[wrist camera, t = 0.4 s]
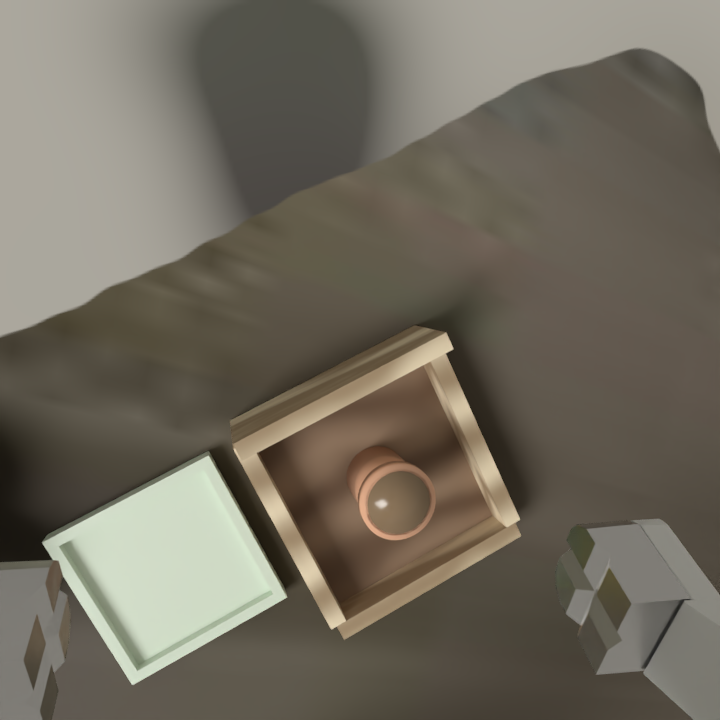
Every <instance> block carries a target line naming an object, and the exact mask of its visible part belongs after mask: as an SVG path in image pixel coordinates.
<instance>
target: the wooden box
mask: <svg viewBox="0 0 720 720" xmlns="http://www.w3.org/2000/svg"><path fill="white" fill-rule="evenodd" d="M451 350H453V346H452V344H451V342H450V340H449V337H448V335H447V333H446V332H442V331H438V330H433V329H429V328H424V327H420V326H415V325H414V326H412V327H410V328H408V329H406V330H404V331H402V332H400V333H398V334H397V335H395V336H393V337H391V338H389V339H387V340H385V341H383V342H381V343H379V344H377V345H375V346H373V347H371V348H369V349H368V350H366V351H364V352H362V353H360V354H358V355H356V356H354V357H352V358H350V359H348V360H346V361H344V362H342V363H340V364H339V365H337V366H335V367H333V368H331V369H329V370H327V371H325V372H323V373H321V374H319V375H317V376H315V377H313V378H311V379H310V380H308V381H306V382H304V383H302V384H300V385H298V386H296V387H294V388H292V389H290V390H288V391H286V392H284V393H282V394H280V395H279V396H277V397H275V398H273V399H271V400H269V401H267V402H265V403H263V404H261V405H259V406H257V407H255V408H253V409H251V410H250V411H248V412H246V413H244V414H242V415H240V416H238V417H236V418H234V419H232V420H230V426H231V434H232V443H233V450H234V451H235V453H236V455H237V457H238V459H239V461H240V462H241V464H242V466H243V468H244V470H245V472H246V473H247V475H248V477H249V479H250V481H251V483H252V484H253V486H254V488H255V490H256V492H257V494H258V496H259V497H260V499H261V501H262V503H263V505H264V507H265V508H266V510H267V512H268V514H269V516H270V518H271V519H272V521H273V523H274V525H275V527H276V529H277V531H278V532H279V534H280V536H281V538H282V540H283V542H284V543H285V545H286V547H287V549H288V551H289V553H290V554H291V556H292V558H293V560H294V562H295V564H296V566H297V567H298V569H299V571H300V573H301V575H302V577H303V578H304V580H305V582H306V584H307V586H308V588H309V589H310V591H311V593H312V595H313V597H314V599H315V601H316V602H317V604H318V606H319V608H320V610H321V612H322V613H323V615H324V617H325V619H326V621H327V623H328V624H329V626H330V628H331V630H332V629H333V628H335V627H338V629H339V631H340V633H341V635H342V637H343V639H344V640H345V639H346V638H348V637H350V636H351V635H353V634H355V633H357V632H358V631H360V630H362V629H363V628H365V627H367V626H369V625H370V624H372V623H374V622H375V621H377V620H379V619H380V618H382V617H384V616H386V615H387V614H389V613H391V612H392V611H394V610H396V609H398V608H399V607H401V606H403V605H404V604H406V603H408V602H409V601H411V600H413V599H415V598H416V597H418V596H420V595H421V594H423V593H425V592H426V591H428V590H430V589H432V588H433V587H435V586H437V585H438V584H440V583H442V582H444V581H445V580H447V579H449V578H450V577H452V576H454V575H455V574H457V573H459V572H461V571H462V570H464V569H466V568H467V567H469V566H471V565H473V564H474V563H476V562H478V561H479V560H481V559H483V558H484V557H486V556H488V555H490V554H491V553H493V552H495V551H496V550H498V549H500V548H502V547H503V546H505V545H507V544H508V543H510V542H512V541H513V540H515V539H517V538H519V537H520V536H521V534H520V532H519V530H518V528H517V526H516V523H515V522H517V521H519V520H520V518H519V516H518V513H517V511H516V509H515V507H514V505H513V502H512V500H511V498H510V496H509V493H508V491H507V489H506V487H505V484H504V482H503V480H502V478H501V476H500V473H499V471H498V469H497V467H496V464H495V462H494V460H493V458H492V456H491V453H490V451H489V449H488V447H487V444H486V442H485V440H484V438H483V435H482V433H481V431H480V429H479V427H478V424H477V422H476V420H475V418H474V415H473V413H472V411H471V409H470V406H469V404H468V402H467V400H466V398H465V395H464V393H463V391H462V389H461V386H460V384H459V382H458V380H457V378H456V375H455V373H454V371H453V369H452V366H451V364H450V362H449V360H448V357H447V355H446V353H447V352H449V351H451ZM374 446H383V447H387V448H389V449H391V450H393V451H394V452H396V453H397V454H398V455H399V456H400V457H401V458H402V459H403V460H404V461H405V462H408V463H411V464H413V465H415V466H417V467H418V468H419V469H421V470H422V471H423V472H424V473H425V474H426V475H427V476H428V477H429V479H430V480H431V482H432V484H433V486H434V489H435V494H436V504H435V509H434V513H433V515H432V517H431V519H430V521H429V522H428V524H427V525H426V526H425V527H424V528H423V529H422V530H421V531H420V532H418V533H417V534H415V535H414V536H412V537H409V538H406V539H402V540H388V539H384V538H381V537H379V536H377V535H376V534H374V533H373V532H372V531H371V530H370V529H369V528H368V527H367V525H366V524H365V522H364V520H363V519H362V517H361V515H360V512H359V509H358V503H357V501H356V500H355V498H354V497H353V495H352V494H351V492H350V490H349V488H348V485H347V471H348V467H349V465H350V463H351V461H352V460H353V458H354V457H355V456H356V455H357V454H358V453H359V452H361V451H363V450H364V449H367V448H369V447H374Z"/></svg>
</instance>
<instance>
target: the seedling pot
mask: <svg viewBox="0 0 720 720" xmlns="http://www.w3.org/2000/svg"><path fill="white" fill-rule="evenodd" d="M347 485H348V488H349V490H350V492H351V494H352V495H353V497H354V498H355V500H356V501H357V503H358V509H359V512H360V515H361V517H362V519H363V520H364V522H365V524H366V525H367V527H368V528H369V529H370V530H371V531H372V532H373V533H374V534H376V535H377V536H379V537H381V538H384V539H388V540H402V539H406V538H409V537H412V536H414V535H415V534H417V533H418V532H420V531H421V530H422V529H423V528H424V527H425V526H426V525H427V524H428V522H429V521H430V519H431V517H432V515H433V513H434V509H435V504H436V494H435V489H434V486H433V484H432V482H431V480H430V479H429V477H428V476H427V475H426V474H425V473H424V472H423V471H422V470H421V469H419V468H418V467H417V466H415V465H413V464H411V463H408V462H405V461H404V460H403V459H402V458H401V457H400V456H399V455H398V454H397V453H396V452H394V451H393V450H391V449H389V448H387V447H383V446H374V447H369V448H367V449H364V450H363V451H361V452H359V453H358V454H357V455H356V456H355V457H354V458H353V460H352V461H351V463H350V465H349V467H348V471H347Z"/></svg>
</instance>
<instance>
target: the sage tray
mask: <svg viewBox="0 0 720 720" xmlns="http://www.w3.org/2000/svg"><path fill="white" fill-rule="evenodd" d="M42 544H43V545H44V547H45V548H46V550H47V551H48V553H49V555H50V556H51V558H52V559H53V560H57V561H59V564H60V567H61V571H62V575H63V577H64V578H65V580H66V581H67V583H68V585H69V586H70V588H71V589H72V591H73V592H74V594H75V596H76V597H77V599H78V600H79V602H80V603H81V605H82V607H83V608H84V610H85V611H86V613H87V614H88V616H89V618H90V619H91V621H92V622H93V624H94V625H95V627H96V629H97V630H98V632H99V633H100V635H101V636H102V638H103V640H104V641H105V643H106V644H107V646H108V647H109V649H110V651H111V652H112V654H113V655H114V657H115V659H116V660H117V662H118V663H119V665H120V666H121V668H122V670H123V671H124V673H125V674H126V676H127V677H128V679H129V681H130V682H131V684H132V685H134V684H135V683H137V682H139V681H141V680H142V679H144V678H146V677H148V676H150V675H151V674H153V673H155V672H157V671H158V670H160V669H162V668H164V667H165V666H167V665H169V664H171V663H172V662H174V661H176V660H178V659H179V658H181V657H183V656H185V655H187V654H188V653H190V652H192V651H194V650H195V649H197V648H199V647H201V646H202V645H204V644H206V643H208V642H209V641H211V640H213V639H215V638H216V637H218V636H220V635H222V634H224V633H225V632H227V631H229V630H231V629H232V628H234V627H236V626H238V625H239V624H241V623H243V622H245V621H246V620H248V619H250V618H252V617H253V616H255V615H257V614H259V613H260V612H262V611H264V610H266V609H268V608H269V607H271V606H273V605H275V604H276V603H278V602H280V601H282V600H283V599H285V598H287V595H286V591H285V588H284V586H283V584H282V582H281V581H280V579H279V577H278V575H277V573H276V571H275V570H274V568H273V566H272V564H271V562H270V561H269V559H268V557H267V555H266V553H265V552H264V550H263V548H262V546H261V544H260V542H259V541H258V539H257V537H256V535H255V533H254V532H253V530H252V528H251V526H250V524H249V523H248V521H247V519H246V517H245V515H244V514H243V512H242V510H241V508H240V506H239V504H238V503H237V501H236V499H235V497H234V495H233V494H232V492H231V490H230V488H229V486H228V485H227V483H226V481H225V479H224V477H223V476H222V474H221V472H220V470H219V468H218V466H217V465H216V463H215V461H214V459H213V457H212V456H211V454H210V452H209V451H207V452H205V453H203V454H201V455H199V456H197V457H195V458H193V459H191V460H189V461H187V462H186V463H184V464H182V465H180V466H178V467H176V468H174V469H172V470H170V471H168V472H166V473H164V474H163V475H161V476H159V477H157V478H155V479H153V480H151V481H149V482H147V483H145V484H143V485H141V486H140V487H138V488H136V489H134V490H132V491H130V492H128V493H126V494H124V495H122V496H120V497H118V498H117V499H115V500H113V501H111V502H109V503H107V504H105V505H103V506H101V507H99V508H97V509H95V510H94V511H92V512H90V513H88V514H86V515H84V516H82V517H80V518H78V519H76V520H74V521H72V522H71V523H69V524H67V525H65V526H63V527H61V528H59V529H57V530H55V531H53V532H51V533H49V534H48V535H46V537H45V539H44V540H43V542H42Z"/></svg>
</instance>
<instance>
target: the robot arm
mask: <svg viewBox="0 0 720 720" xmlns="http://www.w3.org/2000/svg"><path fill="white" fill-rule="evenodd" d="M567 542H568V543H569V545H570V547H571V549H570V550H569V551H567V552H566V553H565V554H564V555H563V556H561V557H560V558H559V562H558V565H557V568H556V571H555V580H556V590H557V594H558V597H559V601H560V603H561V605H562V607H563V609H564V611H565V613H566V614H567V615H568V616H569V617H571V618H572V619H573V620H574V621H576V622H577V623H578V624H580V627H579V632H578V637H577V638H578V640H579V642H580V644H581V646H582V648H583V650H584V652H585V654H586V656H587V658H588V660H589V662H590V664H591V666H592V668H593V670H594V672H595V674H596V675H598V674H610V673H622V672H634V671H644V673H643V674H644V675H645V676H646V677H647V678H649V679H650V680H651V681H652V682H653V683H654V684H655V685H656V686H657V687H658V688H659V689H661V690H662V691H663V692H664V693H665V694H666V695H667V696H668V697H669V698H670V699H671V700H673V701H674V702H675V703H676V704H677V705H678V706H679V707H680V708H681V709H682V710H683V711H685V712H686V713H687V714H688V715H689V716H690V717H691V718H692V719H693V720H720V595H719V593H718V592H717V591H716V589H715V588H714V587H713V585H712V584H711V583H710V581H709V580H708V579H707V577H706V576H705V574H704V573H703V572H702V570H701V569H700V568H699V566H698V565H697V564H696V562H695V561H694V560H693V558H692V557H691V556H690V554H689V553H688V551H687V550H686V549H685V547H684V546H683V545H682V543H681V542H680V541H679V539H678V538H677V537H676V535H675V534H674V533H673V531H672V530H671V529H670V527H669V526H668V525H667V524H666V523H665V522H663V521H662V520H660V519H648V520H633V521H627V520H626V521H613V522H601V523H589V524H577V525H576V526H575V527H573V528H572V529H571V530H570V533H569V535H568V538H567ZM62 577H63V575H62V571H61V567H60V564H59V561H57V560H45V561H21V562H0V720H52V717H53V712H54V708H55V704H56V699H57V695H58V687H57V683H56V679H55V675H54V672H55V671H56V670H57V669H58V668H59V667H60V666H61V665H62V664H63V663H64V661H65V659H66V654H67V649H68V644H69V635H70V623H71V619H70V605H69V601H68V596H67V595H66V594H64V593H63V592H62V591H60V590H59V589H60V585H61V581H62Z"/></svg>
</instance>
